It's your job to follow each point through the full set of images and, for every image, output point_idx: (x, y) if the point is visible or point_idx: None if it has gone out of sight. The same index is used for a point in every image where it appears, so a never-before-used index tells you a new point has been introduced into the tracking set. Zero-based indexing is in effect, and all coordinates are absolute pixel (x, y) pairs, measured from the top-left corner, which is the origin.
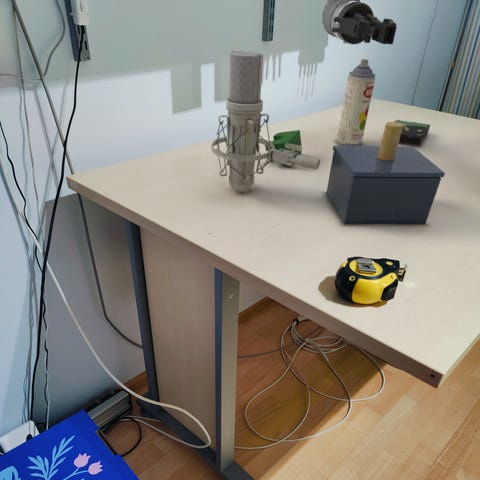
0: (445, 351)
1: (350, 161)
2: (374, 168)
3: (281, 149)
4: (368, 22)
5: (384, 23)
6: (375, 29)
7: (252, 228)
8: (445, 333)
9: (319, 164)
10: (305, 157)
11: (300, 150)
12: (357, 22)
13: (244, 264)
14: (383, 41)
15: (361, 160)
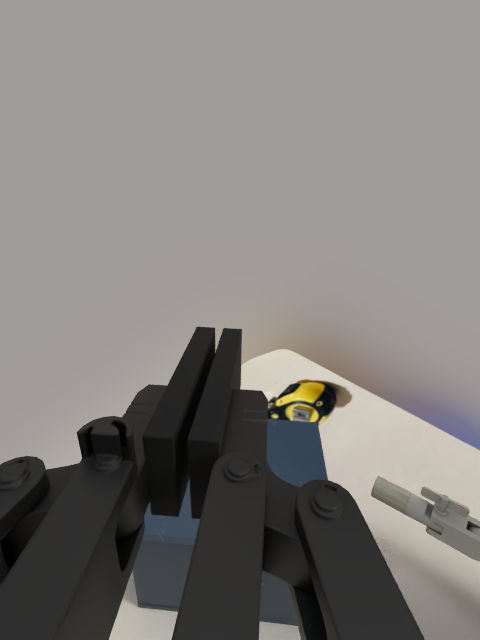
0: (275, 354)
1: (315, 457)
2: (279, 431)
3: (477, 537)
4: (261, 467)
5: (176, 400)
6: (253, 396)
7: (451, 494)
8: (267, 361)
9: (371, 492)
10: (406, 490)
11: (423, 493)
12: (356, 504)
13: (430, 428)
14: (240, 377)
15: (291, 461)
